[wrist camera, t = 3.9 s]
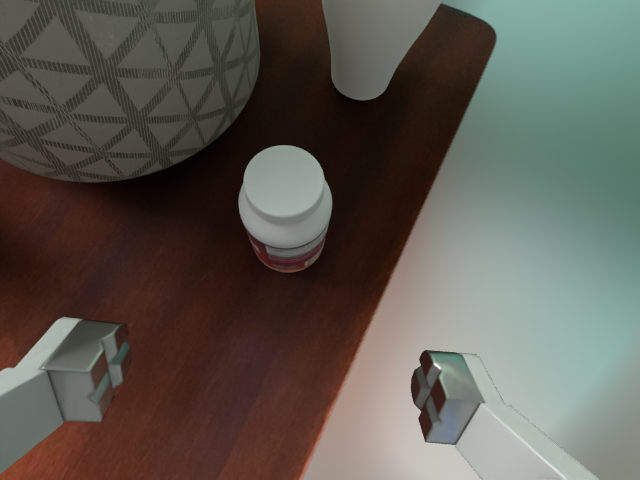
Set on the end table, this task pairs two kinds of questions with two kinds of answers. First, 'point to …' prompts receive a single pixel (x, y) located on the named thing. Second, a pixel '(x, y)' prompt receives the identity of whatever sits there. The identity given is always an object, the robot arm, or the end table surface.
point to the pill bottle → (285, 207)
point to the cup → (372, 40)
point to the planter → (120, 82)
